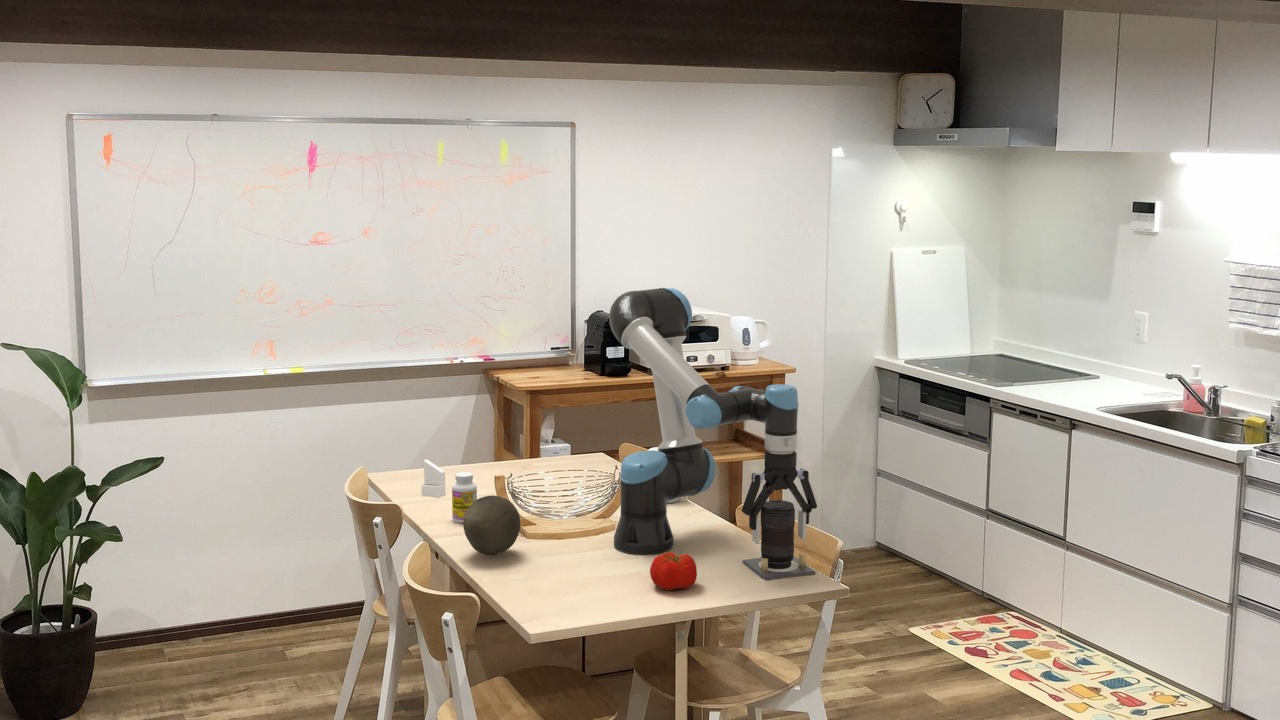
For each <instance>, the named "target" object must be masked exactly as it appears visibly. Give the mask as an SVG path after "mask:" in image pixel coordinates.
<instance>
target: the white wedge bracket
mask: <svg viewBox="0 0 1280 720" xmlns="http://www.w3.org/2000/svg"><path fill="white" fill-rule="evenodd" d="M423 474H424V475H423V476H424V477H423V478H424V480H423V481H424V482H423V484H421V496H422V497H432V498H433V497H434V498H441V497H443V496H445V495H446V471H445V470H443V469H441V468H440V467H439V466H437V465H436V464H434V463H433V462H432V461H430V460H428V459H424V460H423Z"/></svg>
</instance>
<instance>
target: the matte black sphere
mask: <svg viewBox="0 0 1280 720" xmlns="http://www.w3.org/2000/svg"><path fill="white" fill-rule="evenodd" d="M462 524H463V526H462V527H463V531H464V535H465V537H466V540H467V541H468V542H469V544H470V546H471V547H472V549H474V550H475V551H476V552H477V553H480V554H481V555H484V556H489V557H490V556H491V557H492V556H498V555H500V554H503V553H505V552H506V551H508V550H509V549H510V548H512V547H513V545H514V544H515V543H516V541H517V539H518V536H519V534H520V529H521V516H520V512H519V510H518V509H517V507H516V506H515V505H514V504H513V502H511V501H510V500H509V499H507V498H505V497H502V496H499V495H486V496H481V497H479V498H477V500H476V501H474V502H473V503H472V504H471V505H470V507H469V508H468V510H467V511H466V514H465V516H464V522H463V523H462Z"/></svg>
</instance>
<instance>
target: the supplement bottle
mask: <svg viewBox="0 0 1280 720" xmlns="http://www.w3.org/2000/svg"><path fill="white" fill-rule="evenodd" d="M454 477H455V480H456V481H455V482H454V483H453V484H452V487H451V497H452V498H451V501H452V502H451V504H452V505H451V508H452V511H451V512H452V514H451V515H452V521H454V522H455V523H458V524H459V523H460V524H463V522H464V516H465V514H466V511H467V510H468V508H469V507H470V505H471V504H472V503H473V502H474V501H476V500H477V499H478V486H477V484H476V482H474V481H473V479H474V475H473V473H472V472H470V471H469V472H468V471H463V472H456V474H455V475H454Z"/></svg>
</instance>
